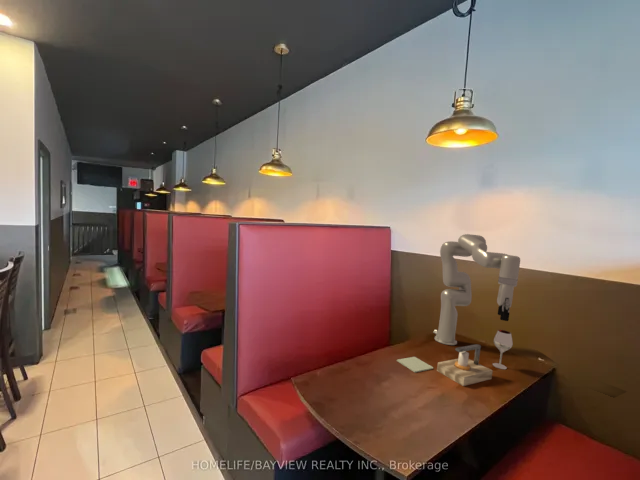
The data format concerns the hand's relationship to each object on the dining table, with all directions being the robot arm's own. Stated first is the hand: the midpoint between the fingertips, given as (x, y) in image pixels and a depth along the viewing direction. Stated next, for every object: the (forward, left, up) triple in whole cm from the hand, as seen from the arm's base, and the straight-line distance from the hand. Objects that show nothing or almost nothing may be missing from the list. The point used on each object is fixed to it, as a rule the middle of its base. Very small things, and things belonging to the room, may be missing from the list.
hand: (502, 317), depth 144 cm
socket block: (-5, -15, -28) cm, 32 cm away
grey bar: (-5, -15, -24) cm, 28 cm away
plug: (-5, -17, -28) cm, 33 cm away
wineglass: (-5, +13, -28) cm, 31 cm away
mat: (-20, -31, -28) cm, 47 cm away
